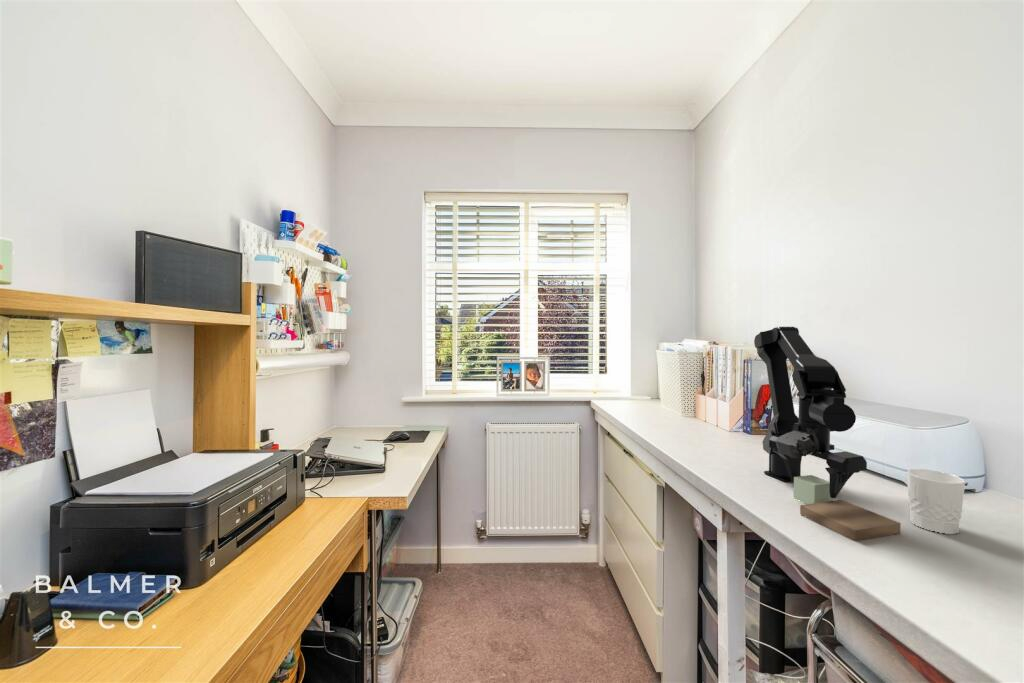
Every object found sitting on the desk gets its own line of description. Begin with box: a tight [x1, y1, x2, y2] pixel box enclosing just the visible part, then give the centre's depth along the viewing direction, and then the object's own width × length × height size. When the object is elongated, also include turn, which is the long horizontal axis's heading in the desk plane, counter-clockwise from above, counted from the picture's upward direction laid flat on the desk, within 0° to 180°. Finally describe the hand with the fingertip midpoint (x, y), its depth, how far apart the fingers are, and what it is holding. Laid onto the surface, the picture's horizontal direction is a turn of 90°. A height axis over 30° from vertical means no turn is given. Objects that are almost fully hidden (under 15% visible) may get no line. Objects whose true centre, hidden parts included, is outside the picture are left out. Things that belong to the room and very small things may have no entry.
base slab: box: [799, 499, 901, 542], centre depth 83 cm, size 11×11×2 cm
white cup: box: [906, 468, 966, 535], centre depth 81 cm, size 8×8×10 cm
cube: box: [793, 474, 834, 504], centre depth 93 cm, size 5×5×5 cm
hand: (812, 489), depth 93 cm, fingers open, 9 cm apart
